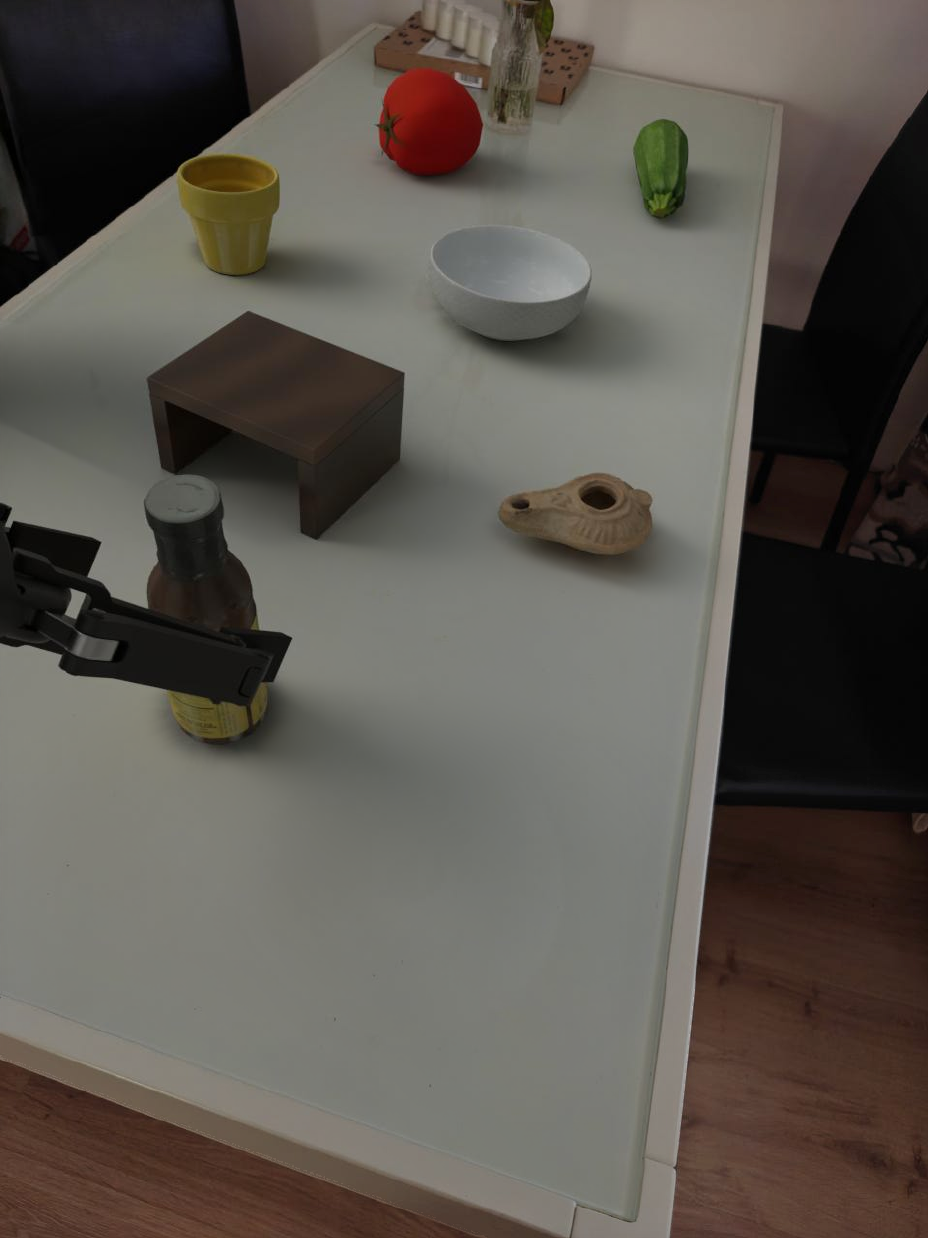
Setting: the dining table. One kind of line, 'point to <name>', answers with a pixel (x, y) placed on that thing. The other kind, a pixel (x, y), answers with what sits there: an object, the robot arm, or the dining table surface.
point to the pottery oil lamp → (583, 514)
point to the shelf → (284, 409)
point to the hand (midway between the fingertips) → (180, 607)
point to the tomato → (429, 123)
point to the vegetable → (662, 166)
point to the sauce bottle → (200, 593)
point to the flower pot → (230, 208)
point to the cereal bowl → (508, 281)
